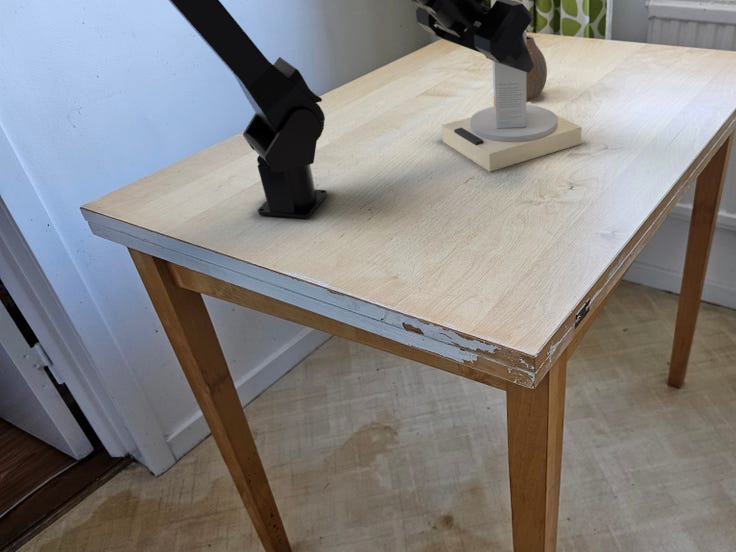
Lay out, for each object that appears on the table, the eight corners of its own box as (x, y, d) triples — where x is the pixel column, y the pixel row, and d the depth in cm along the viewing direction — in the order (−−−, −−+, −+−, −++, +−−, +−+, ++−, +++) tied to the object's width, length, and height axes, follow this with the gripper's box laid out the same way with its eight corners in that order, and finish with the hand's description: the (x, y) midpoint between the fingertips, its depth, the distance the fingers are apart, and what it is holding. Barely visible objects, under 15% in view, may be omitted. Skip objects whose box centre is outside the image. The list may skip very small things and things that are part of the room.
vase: (530, 106, 104) (531, 46, 98) (495, 98, 107) (493, 40, 101) (554, 93, 108) (556, 35, 102) (519, 86, 111) (519, 29, 105)
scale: (489, 171, 86) (489, 148, 84) (442, 141, 94) (440, 119, 92) (580, 144, 92) (582, 121, 90) (528, 117, 100) (529, 96, 98)
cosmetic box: (493, 113, 93) (491, 19, 86) (523, 111, 93) (524, 18, 86) (495, 129, 89) (492, 32, 81) (526, 128, 89) (527, 31, 81)
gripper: (518, -83, 67) (594, 19, 78) (429, -98, 79) (506, -8, 91) (455, 15, 69) (538, 101, 80) (378, -14, 81) (460, 64, 93)
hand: (510, 60), depth 86 cm, fingers open, 9 cm apart
